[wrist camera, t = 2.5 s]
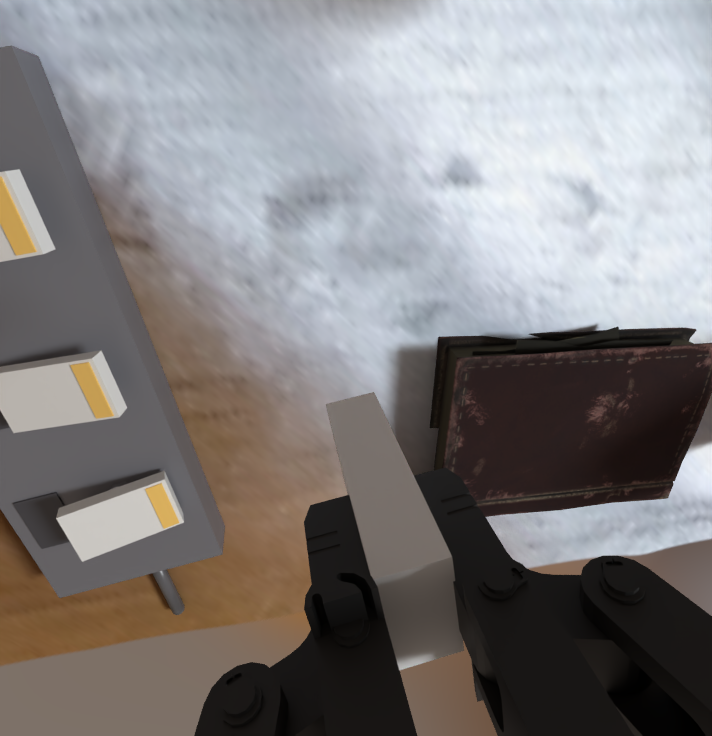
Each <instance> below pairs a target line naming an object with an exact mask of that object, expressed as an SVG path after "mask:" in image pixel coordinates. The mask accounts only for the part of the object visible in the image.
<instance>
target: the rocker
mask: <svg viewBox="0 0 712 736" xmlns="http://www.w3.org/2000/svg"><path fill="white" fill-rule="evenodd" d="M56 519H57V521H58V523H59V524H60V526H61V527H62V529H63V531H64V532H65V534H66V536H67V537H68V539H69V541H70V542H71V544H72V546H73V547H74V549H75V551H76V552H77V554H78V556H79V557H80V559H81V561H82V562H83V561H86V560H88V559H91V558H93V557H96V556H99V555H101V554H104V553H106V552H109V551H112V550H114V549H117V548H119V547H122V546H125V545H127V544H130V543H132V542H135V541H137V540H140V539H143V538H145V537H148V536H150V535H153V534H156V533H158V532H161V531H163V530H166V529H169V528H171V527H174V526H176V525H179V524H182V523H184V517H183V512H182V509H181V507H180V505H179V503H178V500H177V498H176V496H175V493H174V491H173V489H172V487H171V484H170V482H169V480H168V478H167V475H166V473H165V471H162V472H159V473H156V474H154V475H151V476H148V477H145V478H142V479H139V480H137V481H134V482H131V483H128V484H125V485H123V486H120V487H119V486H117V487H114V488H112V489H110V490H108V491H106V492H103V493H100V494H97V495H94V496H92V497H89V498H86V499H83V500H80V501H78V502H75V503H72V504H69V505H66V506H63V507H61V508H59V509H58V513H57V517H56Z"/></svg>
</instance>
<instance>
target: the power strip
mask: <svg viewBox="0 0 712 736" xmlns="http://www.w3.org/2000/svg"><path fill="white" fill-rule="evenodd" d="M18 169H20V172H21V174H22V176H23V178H24V180H25V183H26V185H27V187H28V189H29V191H30V194H31V196H32V198H33V200H34V203H35V205H36V207H37V209H38V211H39V214H40V216H41V218H42V220H43V222H44V225H45V227H46V229H47V231H48V233H49V236H50V238H51V240H52V242H53V245H54V247H55V250H53V251H50V252H48V253H45V254H42V255H36V256H31V257H25V258H20V259H14V260H9V261H3V262H0V367H1V366H7V365H14V364H20V363H26V362H32V361H38V360H45V359H51V358H57V357H63V356H69V355H76V354H82V353H88V352H94V351H100V350H101V351H102V353H103V355H104V357H105V360H106V362H107V364H108V366H109V368H110V371H111V373H112V375H113V377H114V379H115V382H116V384H117V386H118V388H119V391H120V393H121V395H122V397H123V399H124V402H125V404H126V406H127V409H126V410H125V411H124V412H123V414H122V415H121V416H120V417H118V418H112V419H105V420H98V421H91V422H85V423H78V424H71V425H64V426H58V427H51V428H44V429H38V430H31V431H24V432H17V433H13V431H12V430H11V428H10V426H9V424H8V423H7V421H6V419H5V418H4V416H3V414H2V413H1V411H0V509H1V511H2V512H3V514H4V515H5V517H6V518H7V520H8V521H9V523H10V524H11V526H12V527H13V529H14V530H15V532H16V533H17V535H18V536H19V538H20V539H21V541H22V542H23V544H24V545H25V547H26V548H27V550H28V551H29V553H30V554H31V556H32V557H33V559H34V560H35V562H36V563H37V565H38V566H39V568H40V569H41V571H42V572H43V574H44V575H45V577H46V578H47V580H48V581H49V583H50V584H51V586H52V587H53V589H54V590H55V592H56V593H57V595H58V596H59V598H62V597H65V596H69V595H73V594H76V593H80V592H84V591H88V590H91V589H95V588H99V587H103V586H106V585H110V584H114V583H118V582H121V581H125V580H129V579H133V578H136V577H140V576H144V575H147V574H151V573H152V574H153V576H154V578H155V580H156V582H157V584H158V585H159V587H160V589H161V591H162V593H163V595H164V597H165V599H166V601H167V603H168V605H169V607H170V609H171V611H172V612H173V614H175V615H179V614H181V613H182V612H183V611H184V604H183V602H182V600H181V598H180V596H179V594H178V592H177V590H176V588H175V586H174V583H173V581H172V579H171V577H170V575H169V573H168V571H167V569H170V568H174V567H177V566H181V565H185V564H189V563H192V562H196V561H200V560H204V559H207V558H211V557H215V556H218V555H222V554H223V543H224V531H225V525H224V523H223V520H222V518H221V515H220V512H219V510H218V507H217V505H216V502H215V500H214V497H213V495H212V492H211V490H210V487H209V485H208V482H207V480H206V477H205V475H204V472H203V470H202V467H201V465H200V462H199V460H198V457H197V455H196V452H195V450H194V447H193V444H192V442H191V439H190V437H189V434H188V432H187V429H186V427H185V424H184V422H183V419H182V417H181V414H180V412H179V409H178V407H177V404H176V402H175V399H174V397H173V394H172V392H171V389H170V387H169V384H168V382H167V379H166V376H165V374H164V371H163V369H162V366H161V364H160V361H159V359H158V356H157V354H156V351H155V349H154V346H153V344H152V341H151V339H150V336H149V334H148V331H147V329H146V326H145V324H144V321H143V319H142V316H141V313H140V311H139V308H138V306H137V303H136V301H135V298H134V296H133V293H132V291H131V288H130V286H129V283H128V281H127V278H126V276H125V273H124V271H123V268H122V266H121V263H120V261H119V258H118V256H117V253H116V251H115V248H114V245H113V243H112V240H111V238H110V235H109V233H108V230H107V228H106V225H105V223H104V220H103V218H102V215H101V213H100V210H99V208H98V205H97V203H96V200H95V198H94V195H93V193H92V190H91V188H90V185H89V183H88V180H87V177H86V175H85V172H84V170H83V167H82V165H81V162H80V160H79V157H78V155H77V152H76V150H75V147H74V145H73V142H72V140H71V137H70V135H69V132H68V130H67V127H66V125H65V122H64V120H63V117H62V115H61V112H60V109H59V107H58V104H57V102H56V99H55V97H54V94H53V92H52V89H51V87H50V84H49V82H48V79H47V77H46V74H45V72H44V69H43V67H42V64H41V62H40V59H39V57H38V56H37V55H34V54H31V53H29V52H26V51H24V50H21V49H19V48H16V47H14V46H7V47H1V48H0V172H4V171H11V170H18ZM162 471H165V473H166V475H167V478H168V480H169V482H170V484H171V487H172V489H173V491H174V493H175V496H176V498H177V500H178V503H179V505H180V507H181V509H182V512H183V517H184V523H182V524H179V525H176V526H174V527H171V528H169V529H166V530H163V531H161V532H158V533H156V534H153V535H150V536H148V537H145V538H143V539H140V540H137V541H135V542H132V543H130V544H127V545H125V546H122V547H119V548H117V549H114V550H112V551H109V552H106V553H104V554H101V555H99V556H96V557H93V558H91V559H88V560H86V561H83V562H82V561H81V559H80V557H79V556H78V554H77V552H76V551H75V549H74V547H73V546H72V544H71V542H70V541H69V539H68V537H67V536H66V534H65V532H64V531H63V529H62V527H61V526H60V524H59V523H58V521H57V519H56V517H57V513H58V509H59V508H61V507H63V506H66V505H69V504H72V503H75V502H78V501H80V500H83V499H86V498H89V497H92V496H94V495H97V494H100V493H103V492H106V491H108V490H110V489H112V488H114V487H117V486H119V487H120V486H123V485H125V484H128V483H131V482H134V481H137V480H139V479H142V478H145V477H148V476H151V475H154V474H156V473H159V472H162Z"/></svg>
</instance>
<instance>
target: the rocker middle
mask: <svg viewBox="0 0 712 736" xmlns="http://www.w3.org/2000/svg"><path fill="white" fill-rule="evenodd" d="M126 409H127V406H126V404H125V402H124V399H123V397H122V395H121V393H120V391H119V388H118V386H117V384H116V382H115V379H114V377H113V375H112V373H111V371H110V368H109V366H108V364H107V362H106V360H105V357H104V355H103V353H102V351H101V350H100V351H94V352H88V353H82V354H76V355H69V356H63V357H57V358H51V359H45V360H38V361H32V362H26V363H20V364H14V365H7V366H1V367H0V411H1V413H2V414H3V416H4V418H5V419H6V421H7V423H8V424H9V426H10V428H11V430H12V431H13V433H17V432H24V431H31V430H38V429H44V428H51V427H58V426H64V425H71V424H78V423H85V422H91V421H98V420H105V419H112V418H118V417H120V416H121V415H122V414H123V412H124V411H125V410H126Z"/></svg>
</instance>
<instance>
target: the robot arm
mask: <svg viewBox="0 0 712 736" xmlns="http://www.w3.org/2000/svg"><path fill="white" fill-rule="evenodd" d="M326 408H327V412H328V416H329V420H330V424H331V428H332V432H333V437H334V441H335V445H336V449H337V453H338V457H339V461H340V465H341V470H342V474H343V478H344V482H345V485H346V489H347V493H348V495H347V496H343V497H339V498H336V499H332V500H328V501H325V502H321V503H317V504H314V505H310V508H309V510H308V513H307V516H306V518H305V521H304V526H305V534H306V540H307V550H308V558H309V566H310V574H311V582H312V585H311V587H310V589H309V591H308V592H307V594H306V597H305V606H304V610H305V613H306V616H307V619H308V621H309V624H310V627H311V631H310V633H309V635H308V636H307V638H306V639H305V641H304V642H303V643H302V644H301V646H300V647H298V648H297V649H296V650H295V651H294V652H292V653H291V654H290V655H288V656H287V657H286V658H284V659H282V660H281V661H279V662H278V663H276V664H275V665H273V666H272V667H270V668H269V667H268V666H266V665H265V664H260V663H253V662H251V663H247V664H243V665H239V666H236V667H235V668H233V669H232V670H230V671H229V672H227V673H226V674H224V675H223V676H222V677H221V678H220V679H219V680H218V681H217V683H216V684H215V685H214V686H213V687H212V689H211V691H210V693H209V695H208V697H207V699H206V701H205V703H204V706H203V709H202V712H201V715H200V719H199V722H198V725H197V729H196V732H195V736H417V733H416V729H415V726H414V722H413V719H412V715H411V711H410V708H409V704H408V700H407V697H406V693H405V689H404V686H403V682H402V678H401V675H400V671H399V670H402V669H405V668H408V667H411V666H415V665H418V664H421V663H425V662H428V661H431V660H435V659H438V658H441V657H444V656H448V655H451V654H454V653H457V652H461V651H464V646H463V640H464V642H465V645H466V647H467V650H468V652H469V654H470V656H471V659H472V668H473V676H474V684H475V692H476V697H477V701H481V700H484V703H485V705H486V708H487V710H488V713H489V715H490V718H491V720H492V722H493V725H494V728H495V730H496V732H497V735H498V736H712V616H710V615H709V614H708V613H706V612H705V611H704V610H703V609H701V608H700V607H699V606H697V605H696V604H695V603H693V602H692V601H690V600H689V599H688V598H687V597H685V596H684V595H683V594H681V593H680V592H679V591H678V590H676V589H675V588H674V587H672V586H671V585H670V584H668V583H667V582H666V581H664V580H663V579H661V578H660V577H659V576H658V575H656V574H655V573H654V572H652V571H651V570H650V569H648V568H647V567H645V566H643V565H641V564H640V563H638V562H636V561H634V560H631V559H628V558H624V557H621V556H601V557H598V558H595V559H592V560H590V561H589V563H588V564H586V565H585V566H584V567H583V570H582V574H581V575H550V574H541V573H538V572H534V571H531V570H529V569H527V568H525V567H524V566H523V565H522V564H520V563H518V562H517V561H515V560H513V559H512V558H511V557H510V555H509V554H508V553H507V552H506V550H505V549H504V547H503V545H502V544H501V542H500V540H499V539H498V537H497V535H496V534H495V532H494V531H493V529H492V527H491V526H490V524H489V522H488V521H487V519H486V518H485V516H484V514H483V513H482V511H481V509H480V508H479V507H478V505H477V503H476V501H475V500H474V498H473V496H472V495H471V494H470V492H469V490H468V488H467V487H466V485H465V483H464V482H463V480H462V479H461V477H459V476H458V475H456V474H455V473H453V472H452V471H450V470H449V469H447V468H446V467H445V468H442V469H438V470H434V471H431V472H427V473H423V474H419V475H416V476H414V475H413V473H412V471H411V469H410V467H409V465H408V463H407V461H406V458H405V456H404V454H403V452H402V450H401V448H400V446H399V444H398V442H397V439H396V437H395V435H394V433H393V431H392V429H391V427H390V425H389V423H388V420H387V418H386V416H385V414H384V412H383V410H382V408H381V406H380V404H379V402H378V399H377V397H376V395H375V393H374V392H372V393H369V394H365V395H361V396H357V397H353V398H349V399H345V400H341V401H337V402H333V403H329V404H326Z"/></svg>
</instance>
